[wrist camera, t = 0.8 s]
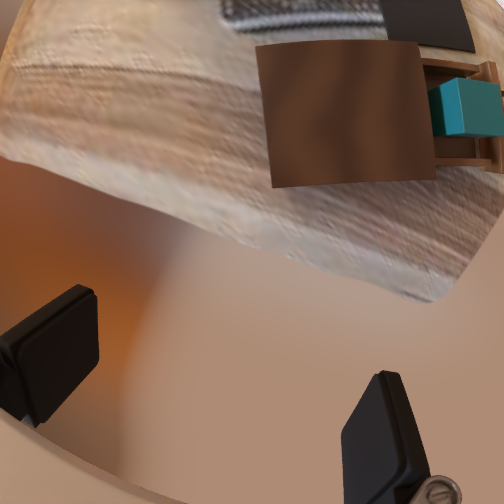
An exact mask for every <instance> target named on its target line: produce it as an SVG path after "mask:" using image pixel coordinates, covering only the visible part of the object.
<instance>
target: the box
mask: <svg viewBox="0 0 504 504" xmlns="http://www.w3.org/2000/svg"><path fill="white" fill-rule="evenodd" d="M427 94H428V100H429V107H430V115H431V123H432V132H433V137H450V138H484V137H504V115H503V108H502V101H501V95H500V89H499V84H496V83H490V82H484V81H478V80H472V79H465V78H454V79H452V80H450V81H448V82H446V83H444V84H442V85H439V86H437V87H435V88H433V89H431V90H429V91H427Z"/></svg>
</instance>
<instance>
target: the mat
mask: <svg viewBox="0 0 504 504" xmlns="http://www.w3.org/2000/svg"><path fill="white" fill-rule="evenodd" d="M379 3H380V7H381V11H382V14H383V18H384V22H385V26H386V30H387V34H388V39H389V40H391V41H406V42H417V43H418V45H425V46H434V47H442V48H449V49H456V50H462V51H468V52H473V53H475V52H476V51H475V47H474V43H473V39H472V36H471V32H470V29H469V25H468V22H467V19H466V16H465V13H464V10H463V7H462V4H461V1H460V0H379Z"/></svg>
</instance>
